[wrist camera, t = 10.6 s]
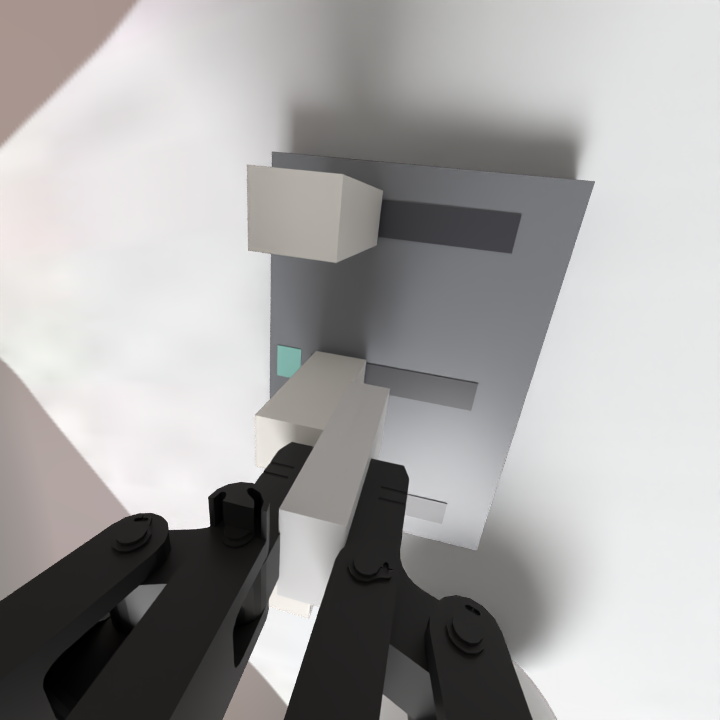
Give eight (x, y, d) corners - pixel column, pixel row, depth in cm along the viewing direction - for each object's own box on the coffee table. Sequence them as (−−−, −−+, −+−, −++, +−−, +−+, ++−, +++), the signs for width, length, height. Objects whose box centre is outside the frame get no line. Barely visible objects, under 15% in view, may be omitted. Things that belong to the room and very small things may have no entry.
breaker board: (575, 185, 14) (595, 181, 13) (473, 522, 21) (476, 551, 20) (291, 158, 16) (271, 151, 14) (282, 476, 23) (268, 499, 21)
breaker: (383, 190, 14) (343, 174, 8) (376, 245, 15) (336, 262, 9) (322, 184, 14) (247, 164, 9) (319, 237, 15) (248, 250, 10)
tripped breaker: (366, 360, 16) (327, 430, 11) (361, 398, 17) (323, 482, 12) (316, 350, 17) (254, 414, 11) (313, 388, 18) (255, 466, 12)
